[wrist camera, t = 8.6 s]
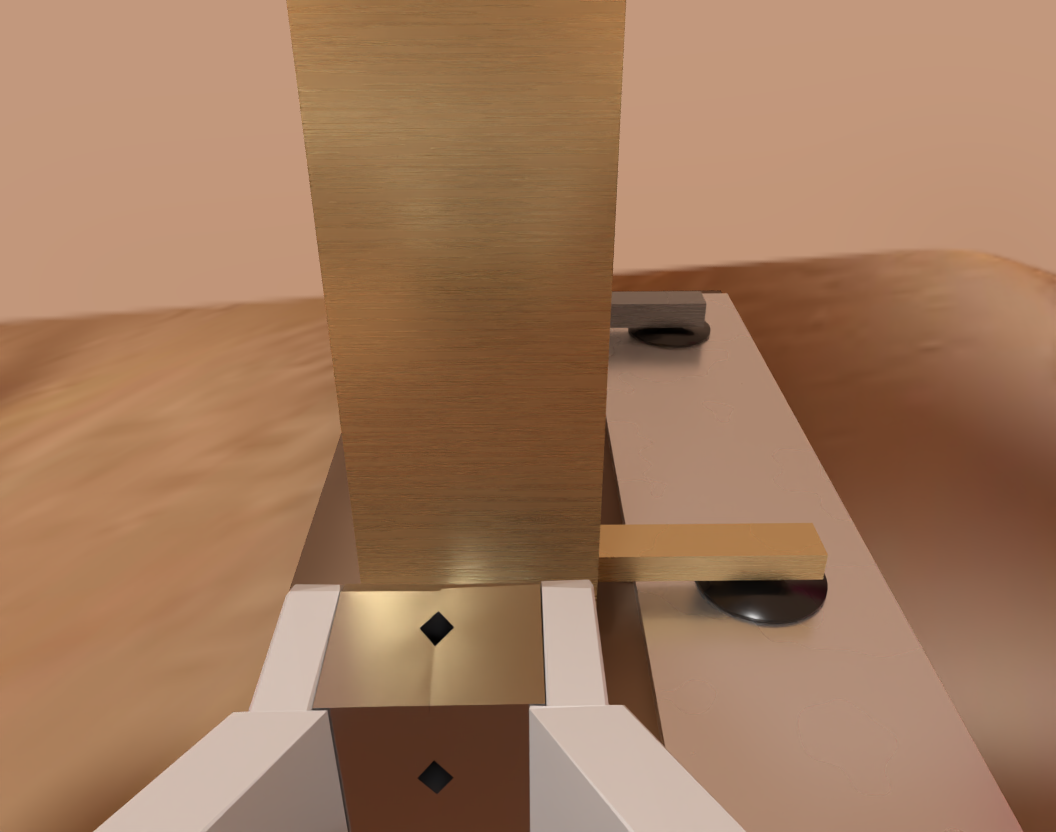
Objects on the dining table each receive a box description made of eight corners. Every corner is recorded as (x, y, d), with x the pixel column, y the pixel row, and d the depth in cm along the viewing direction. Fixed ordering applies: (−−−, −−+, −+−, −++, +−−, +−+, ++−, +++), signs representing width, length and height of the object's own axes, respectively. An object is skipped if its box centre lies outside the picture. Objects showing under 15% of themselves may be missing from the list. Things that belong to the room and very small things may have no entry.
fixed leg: (428, 362, 26) (376, -439, 17) (438, 309, 30) (399, -381, 21) (712, 360, 26) (803, -439, 17) (689, 307, 30) (756, -381, 21)
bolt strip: (411, 948, 12) (409, 932, 11) (475, 303, 31) (475, 292, 30) (1069, 940, 12) (1078, 922, 12) (726, 301, 31) (727, 290, 31)
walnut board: (167, 1095, 12) (141, 1037, 11) (390, 331, 32) (387, 292, 32) (1075, 1080, 12) (1112, 1021, 11) (716, 328, 32) (720, 290, 32)
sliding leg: (368, 641, 15) (154, -1033, 7) (395, 506, 19) (277, -712, 10) (848, 635, 16) (1256, -1026, 7) (787, 502, 19) (1006, -710, 10)
